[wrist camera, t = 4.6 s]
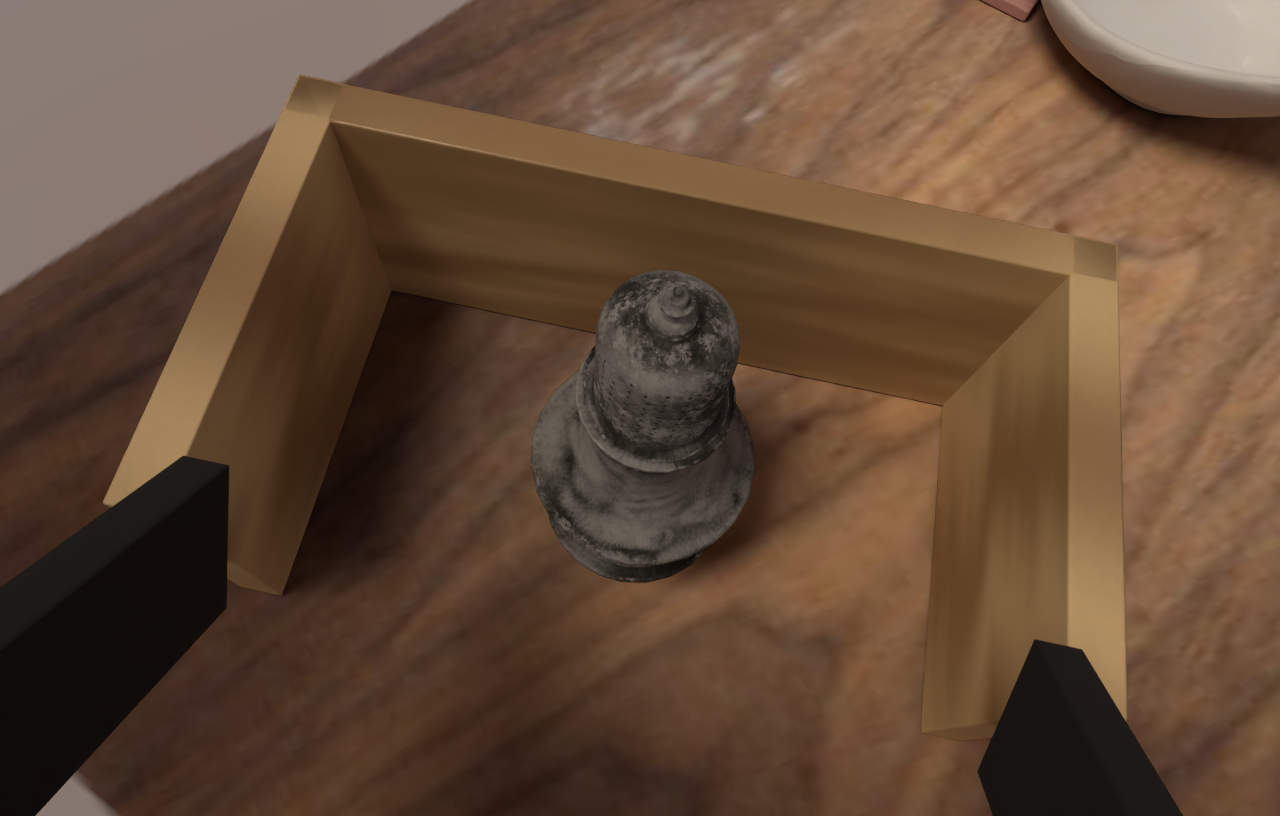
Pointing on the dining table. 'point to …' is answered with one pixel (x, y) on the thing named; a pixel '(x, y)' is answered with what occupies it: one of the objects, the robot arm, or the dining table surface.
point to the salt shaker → (648, 433)
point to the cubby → (768, 330)
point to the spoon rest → (1178, 52)
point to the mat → (1014, 7)
